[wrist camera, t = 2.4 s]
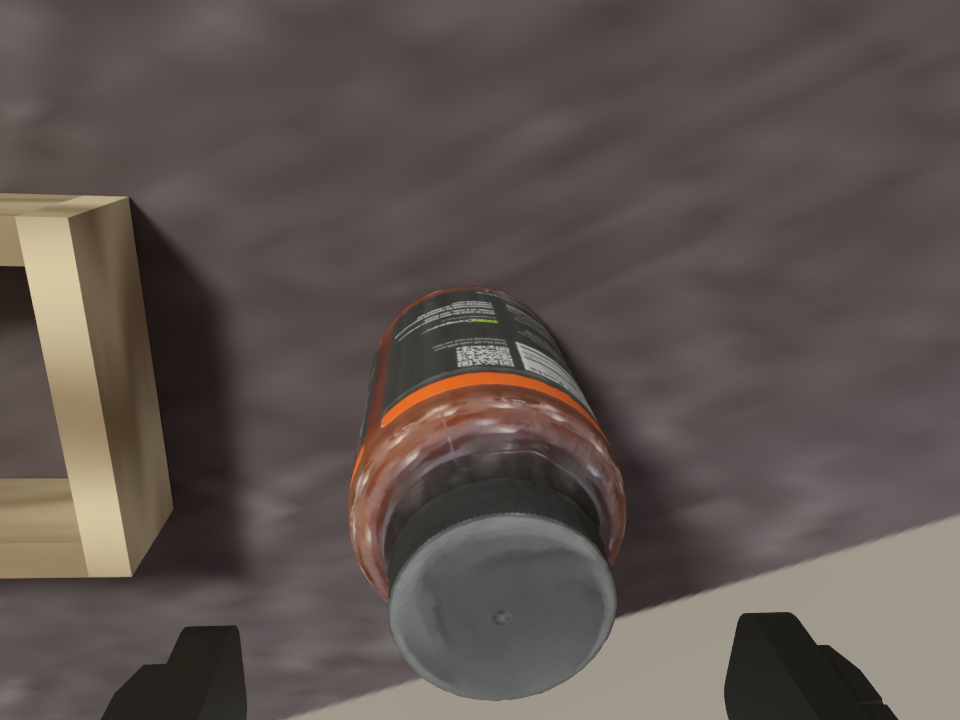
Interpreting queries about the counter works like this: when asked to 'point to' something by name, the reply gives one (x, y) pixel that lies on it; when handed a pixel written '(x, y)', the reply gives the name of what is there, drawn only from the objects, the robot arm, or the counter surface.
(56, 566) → the wooden socket
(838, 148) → the counter surface
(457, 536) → the supplement bottle
